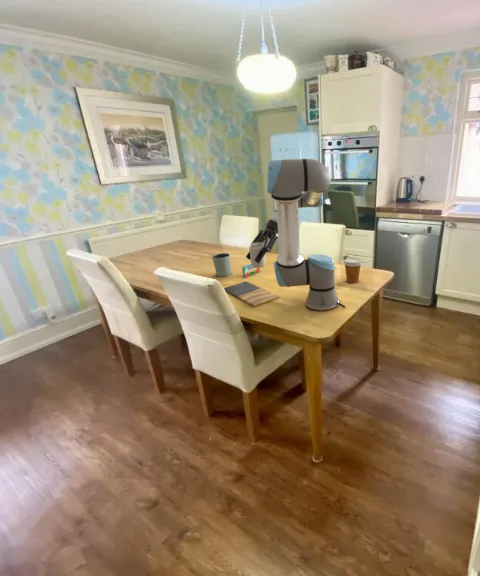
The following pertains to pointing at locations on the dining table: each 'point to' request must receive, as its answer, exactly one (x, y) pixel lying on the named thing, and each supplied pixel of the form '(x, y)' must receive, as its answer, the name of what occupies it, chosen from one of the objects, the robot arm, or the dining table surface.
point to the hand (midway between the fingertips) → (252, 260)
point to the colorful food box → (249, 270)
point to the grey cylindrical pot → (222, 264)
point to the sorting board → (250, 293)
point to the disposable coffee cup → (352, 269)
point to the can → (254, 251)
